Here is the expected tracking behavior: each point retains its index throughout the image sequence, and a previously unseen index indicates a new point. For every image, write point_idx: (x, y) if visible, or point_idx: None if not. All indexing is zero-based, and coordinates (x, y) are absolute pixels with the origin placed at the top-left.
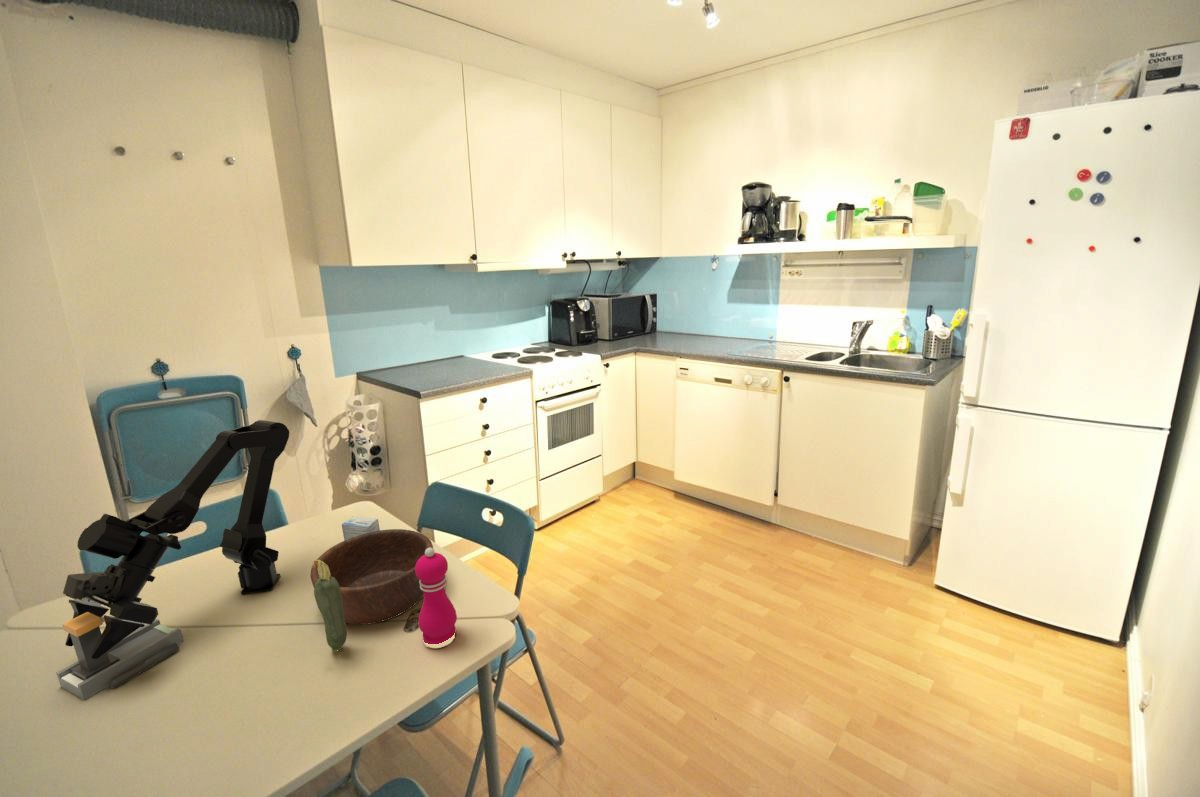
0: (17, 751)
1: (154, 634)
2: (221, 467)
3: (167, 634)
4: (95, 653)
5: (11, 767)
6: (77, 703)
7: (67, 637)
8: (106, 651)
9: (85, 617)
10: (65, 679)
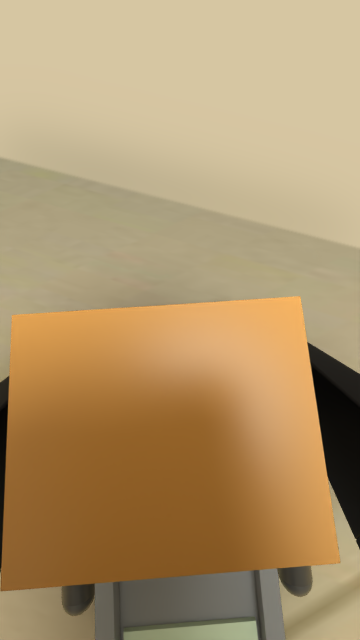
0: (62, 184)
1: (202, 594)
2: None
3: (108, 631)
4: None
5: (20, 165)
6: (112, 306)
7: (318, 350)
8: None
9: (204, 486)
10: None
